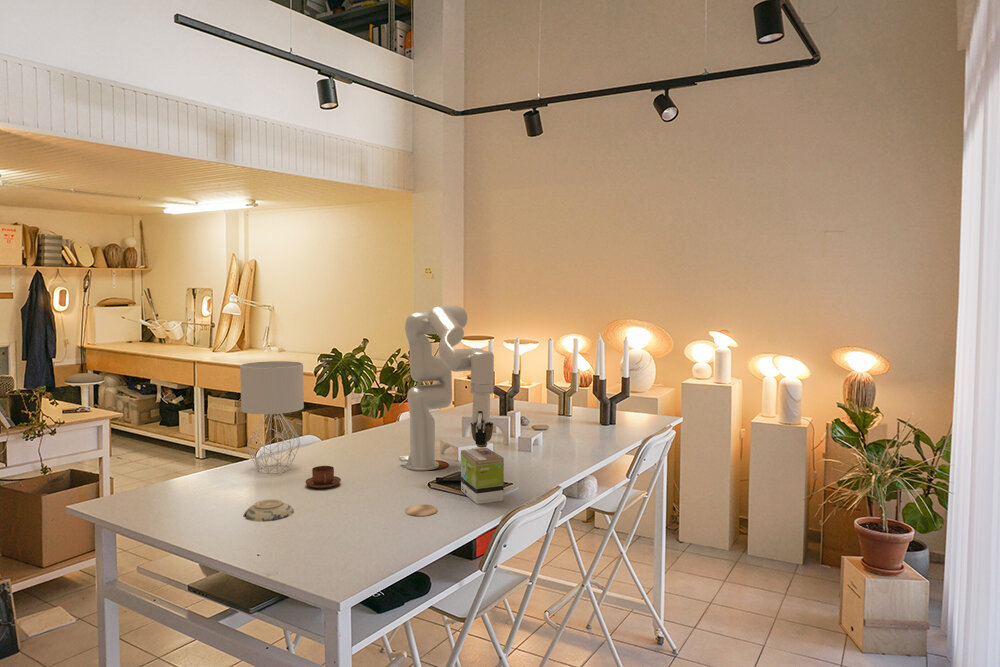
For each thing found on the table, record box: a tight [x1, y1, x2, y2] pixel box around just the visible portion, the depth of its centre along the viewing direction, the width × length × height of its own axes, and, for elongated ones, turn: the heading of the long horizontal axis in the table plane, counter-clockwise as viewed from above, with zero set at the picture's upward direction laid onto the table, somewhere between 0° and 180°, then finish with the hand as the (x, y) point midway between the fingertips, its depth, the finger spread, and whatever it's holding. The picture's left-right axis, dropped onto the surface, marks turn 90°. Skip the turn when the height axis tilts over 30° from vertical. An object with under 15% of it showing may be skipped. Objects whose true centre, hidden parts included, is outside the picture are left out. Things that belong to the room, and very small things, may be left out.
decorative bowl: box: [242, 498, 295, 523], centre depth 215 cm, size 15×4×15 cm
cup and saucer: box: [304, 465, 342, 489], centre depth 246 cm, size 12×12×6 cm
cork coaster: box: [404, 503, 438, 517], centre depth 219 cm, size 10×10×1 cm
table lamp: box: [239, 360, 305, 475], centre depth 265 cm, size 22×22×40 cm
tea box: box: [460, 447, 505, 505], centre depth 233 cm, size 15×10×15 cm, turn 23°
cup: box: [470, 421, 494, 448], centre depth 233 cm, size 8×7×8 cm
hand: (481, 441), depth 233 cm, fingers closed on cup, 7 cm apart
